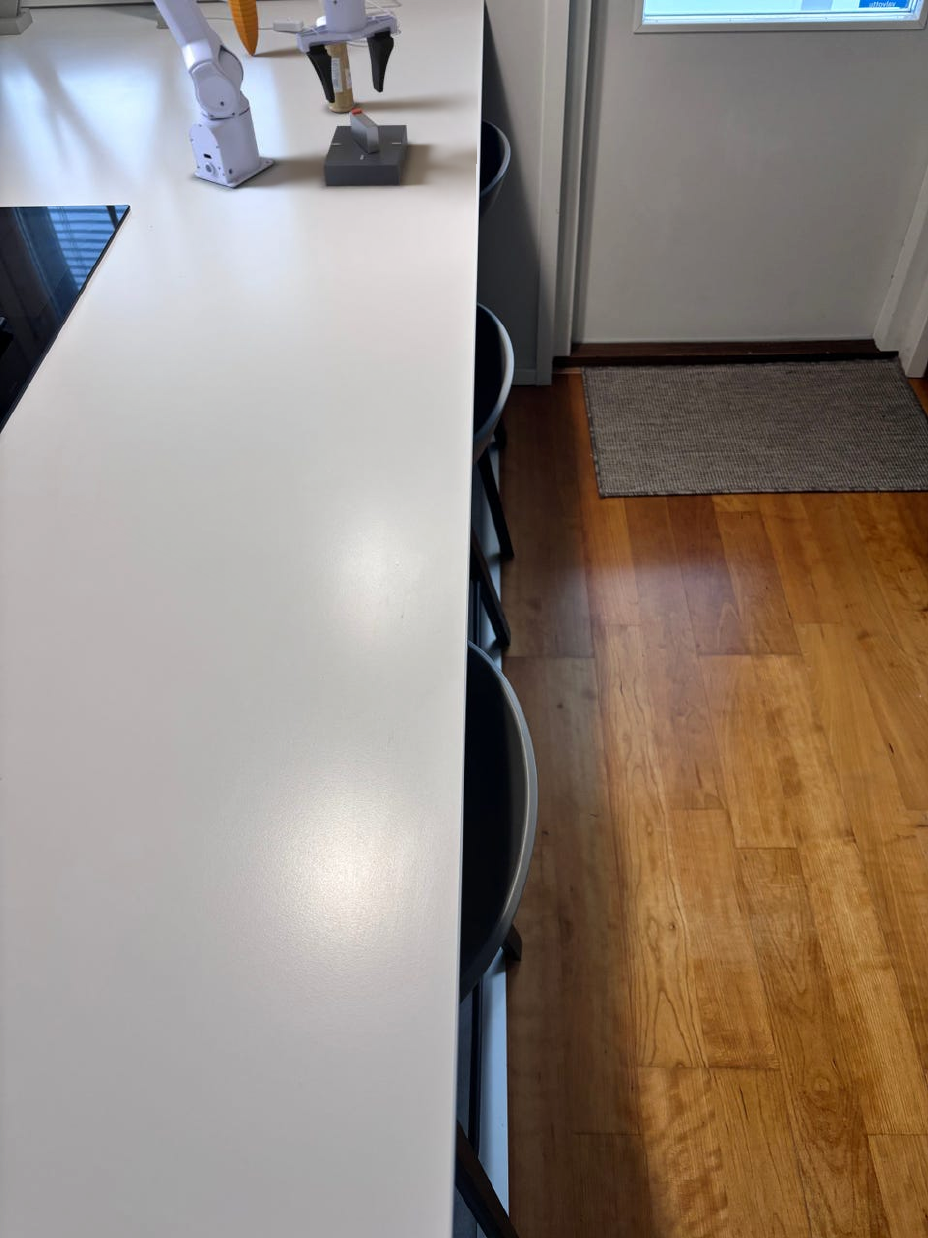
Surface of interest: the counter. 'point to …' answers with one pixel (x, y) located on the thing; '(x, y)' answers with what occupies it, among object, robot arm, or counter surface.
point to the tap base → (366, 158)
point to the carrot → (246, 22)
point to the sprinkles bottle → (340, 75)
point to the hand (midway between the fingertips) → (354, 95)
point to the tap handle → (364, 131)
